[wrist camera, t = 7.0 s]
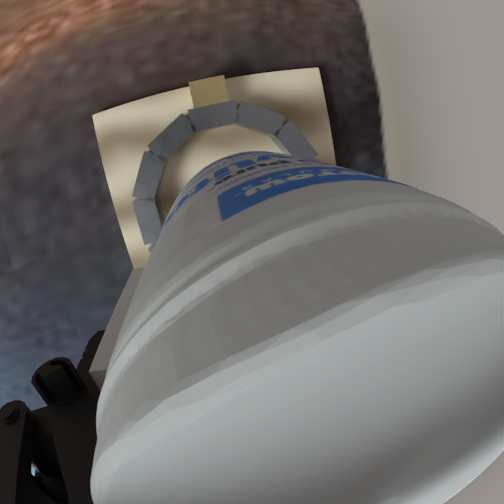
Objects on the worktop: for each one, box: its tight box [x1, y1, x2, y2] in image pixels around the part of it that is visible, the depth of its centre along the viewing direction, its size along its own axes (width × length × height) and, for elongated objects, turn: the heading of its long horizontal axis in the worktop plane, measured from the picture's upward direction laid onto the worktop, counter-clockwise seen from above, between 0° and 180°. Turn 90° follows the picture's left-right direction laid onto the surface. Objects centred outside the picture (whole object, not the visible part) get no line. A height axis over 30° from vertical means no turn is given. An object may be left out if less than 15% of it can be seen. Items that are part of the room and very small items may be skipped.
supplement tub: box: [90, 151, 504, 504], centre depth 10 cm, size 10×10×15 cm
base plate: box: [92, 68, 336, 269], centre depth 30 cm, size 22×22×1 cm
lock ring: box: [132, 75, 321, 253], centre depth 28 cm, size 22×17×2 cm
